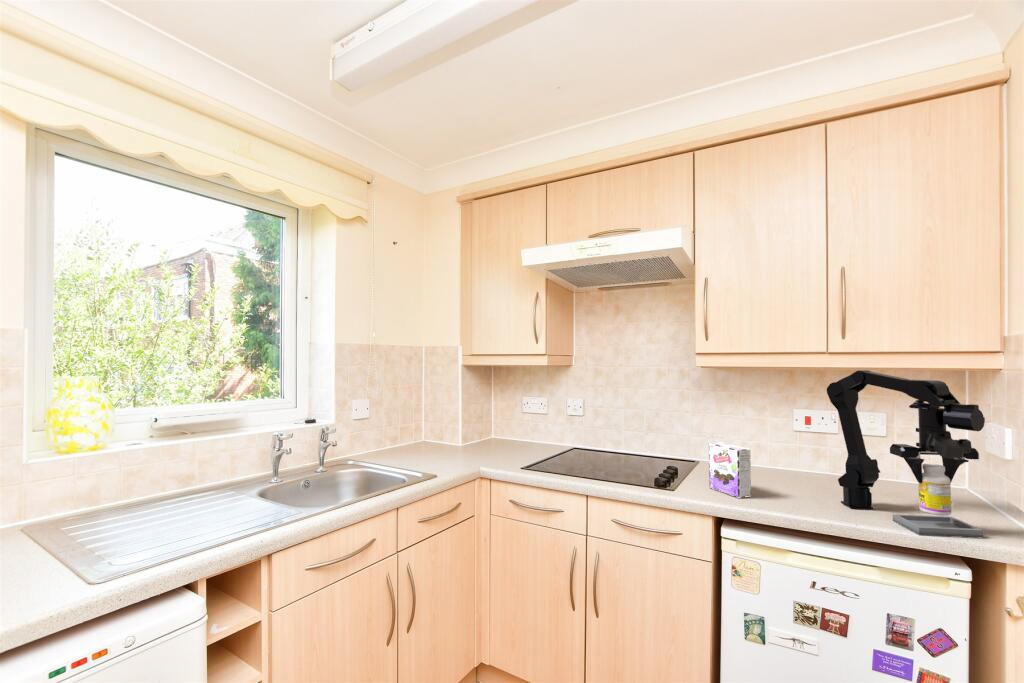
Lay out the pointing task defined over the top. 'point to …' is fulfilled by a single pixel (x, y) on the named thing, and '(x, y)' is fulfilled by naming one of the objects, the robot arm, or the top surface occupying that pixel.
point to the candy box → (730, 469)
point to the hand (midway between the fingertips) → (934, 482)
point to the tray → (937, 526)
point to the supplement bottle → (935, 491)
